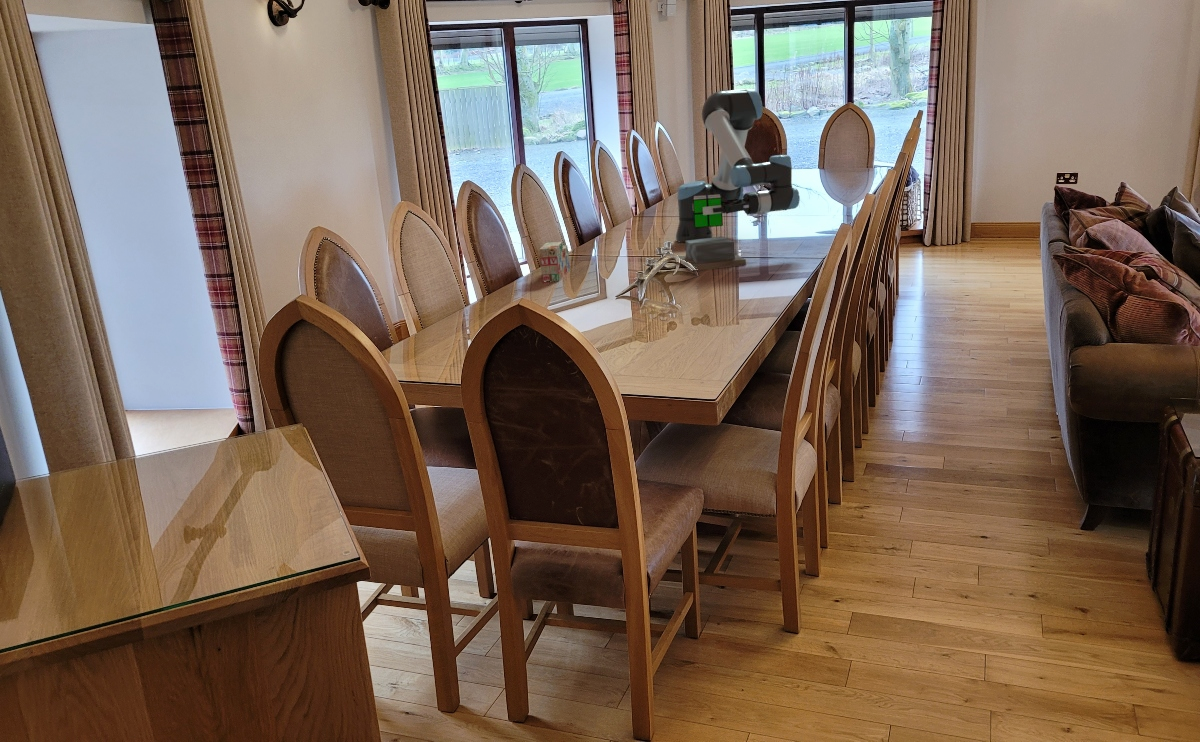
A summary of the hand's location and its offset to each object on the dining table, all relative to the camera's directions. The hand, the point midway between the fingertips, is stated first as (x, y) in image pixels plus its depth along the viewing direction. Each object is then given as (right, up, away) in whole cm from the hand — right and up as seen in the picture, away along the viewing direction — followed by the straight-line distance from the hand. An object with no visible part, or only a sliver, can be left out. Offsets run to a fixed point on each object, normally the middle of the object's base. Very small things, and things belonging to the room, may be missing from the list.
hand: (698, 209), depth 331 cm
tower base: (+5, -19, +7) cm, 20 cm away
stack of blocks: (-51, -23, +9) cm, 56 cm away
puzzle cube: (+4, -5, +2) cm, 7 cm away
